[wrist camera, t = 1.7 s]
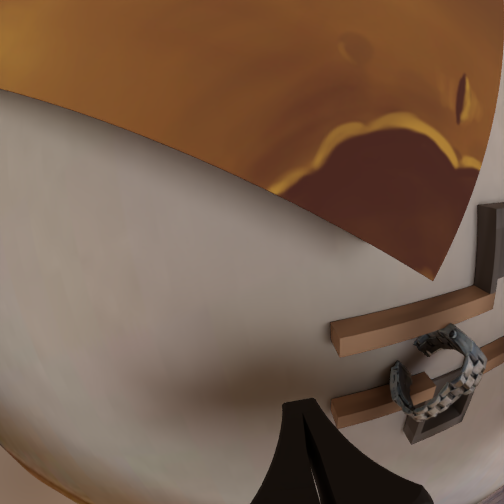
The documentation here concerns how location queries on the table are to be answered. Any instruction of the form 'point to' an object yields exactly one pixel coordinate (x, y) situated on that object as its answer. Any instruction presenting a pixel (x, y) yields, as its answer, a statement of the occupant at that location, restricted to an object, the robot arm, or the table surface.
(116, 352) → the table surface
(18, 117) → the table surface
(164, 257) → the table surface
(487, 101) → the diary
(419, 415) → the wristwatch
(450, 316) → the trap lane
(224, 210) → the table surface
